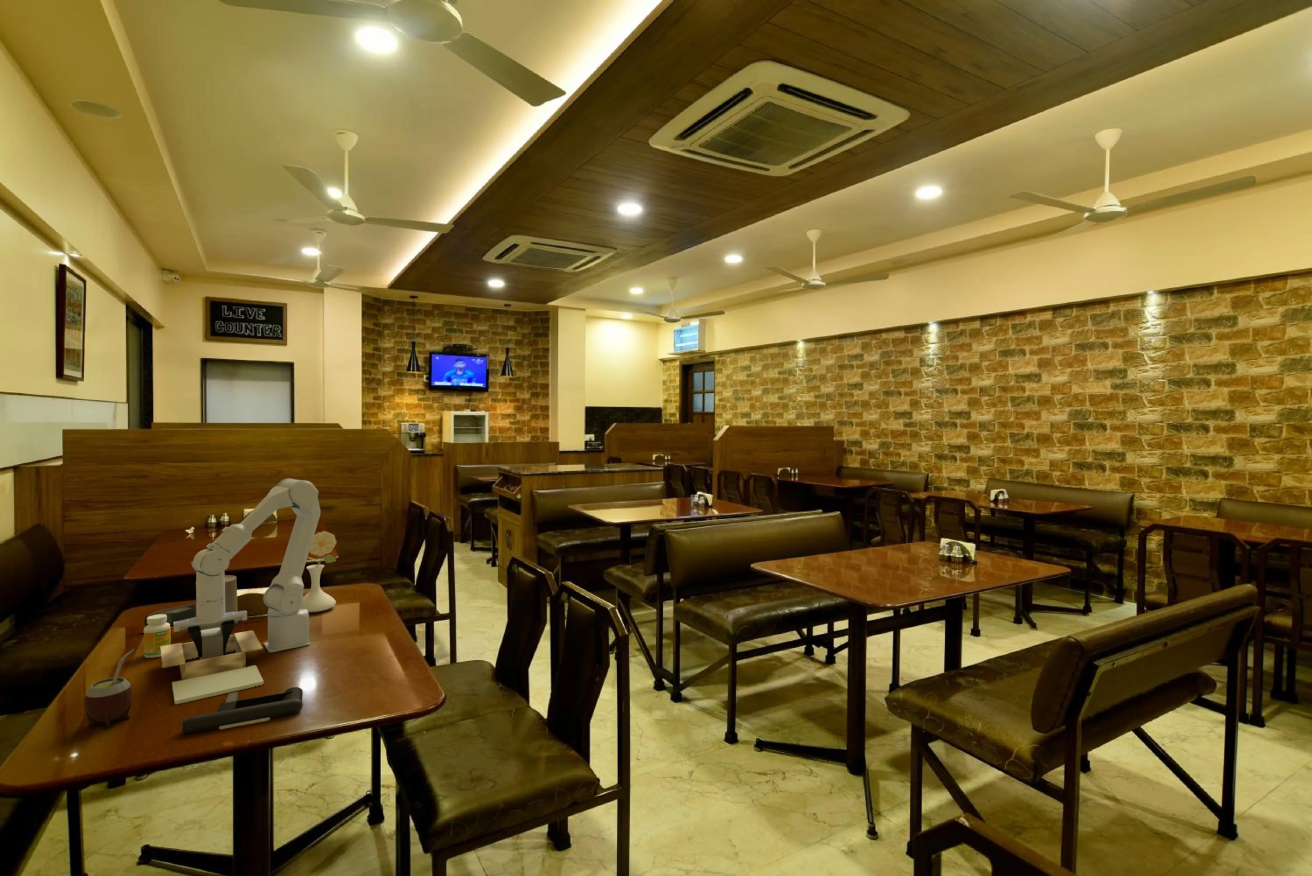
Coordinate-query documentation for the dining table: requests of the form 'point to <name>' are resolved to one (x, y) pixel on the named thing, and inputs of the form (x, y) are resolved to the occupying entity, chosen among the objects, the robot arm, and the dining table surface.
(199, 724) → the door handle
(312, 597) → the flower in vase
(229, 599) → the pillar candle
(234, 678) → the sage board
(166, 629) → the supplement bottle
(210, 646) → the block
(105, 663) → the dining table surface
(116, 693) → the mate gourd
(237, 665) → the carton
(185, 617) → the dark grey stapler
